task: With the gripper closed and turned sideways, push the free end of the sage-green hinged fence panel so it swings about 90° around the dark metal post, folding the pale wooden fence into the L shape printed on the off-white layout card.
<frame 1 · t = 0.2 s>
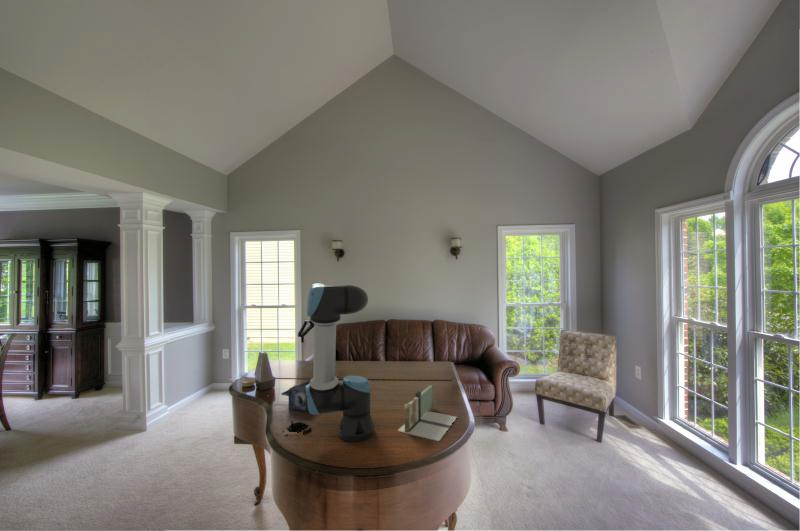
hand: (316, 346, 182), 28 cm above the table, tool tilted 20°, fingers open, 13 cm apart
black jagged lump: (296, 432, 142), on the table
layout card: (428, 424, 147), on the table
small box: (300, 409, 165), on the table
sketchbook: (313, 389, 193), on the table
fixed fence: (418, 420, 150), resting on layout card
hinged panel: (425, 400, 158), point 6 cm above the table, hinge at 0.0°
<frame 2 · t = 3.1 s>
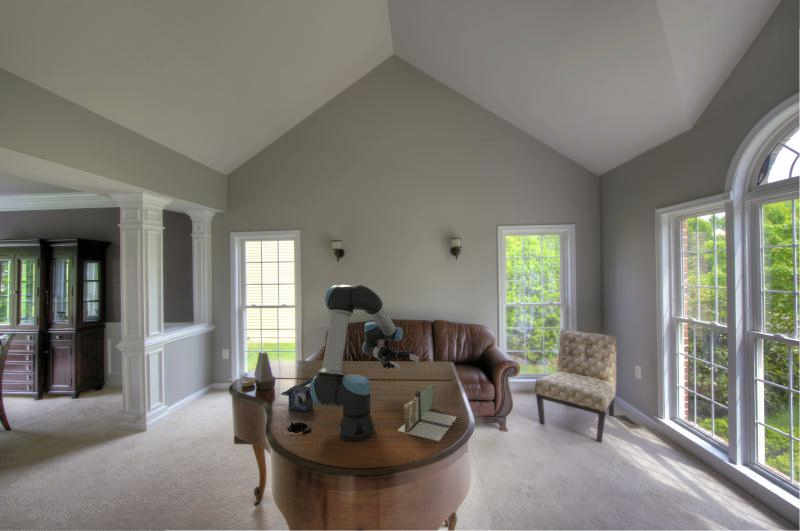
hand: (409, 363, 165), 22 cm above the table, tool horizontal, fingers open, 13 cm apart
nothing on the table moved.
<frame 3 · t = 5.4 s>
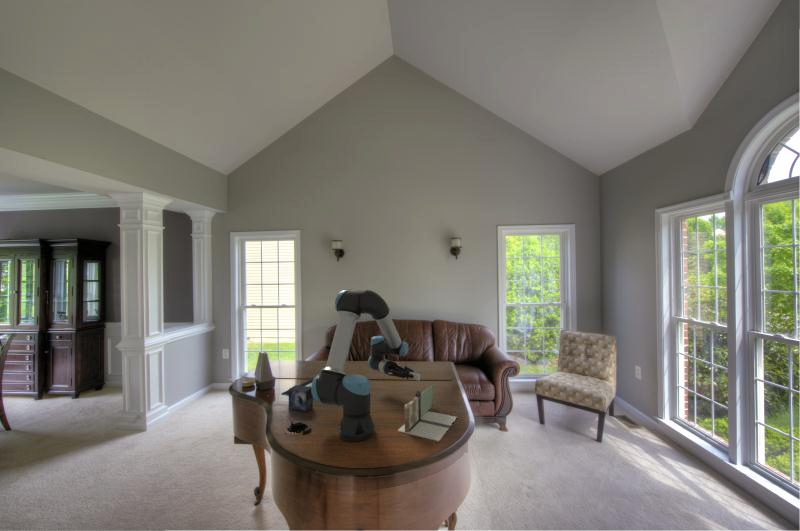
hand: (419, 377, 164), 16 cm above the table, tool horizontal, fingers closed
nothing on the table moved.
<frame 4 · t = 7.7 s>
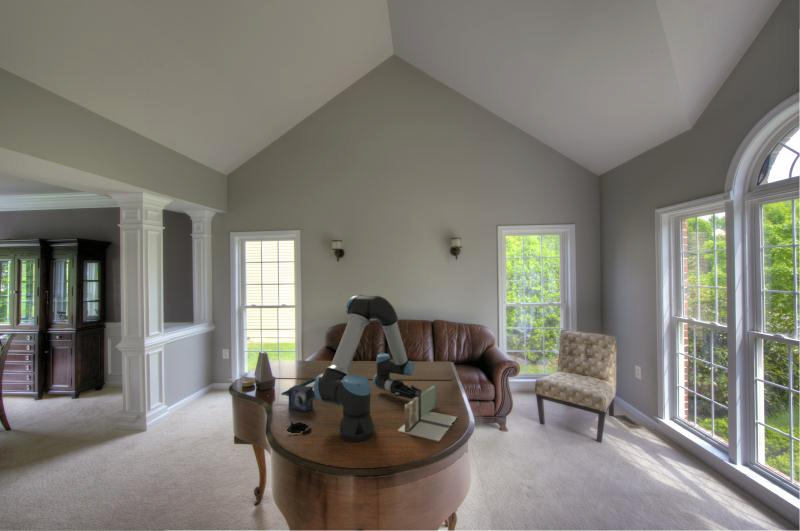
hand: (427, 398, 160), 6 cm above the table, tool horizontal, fingers closed
hinged panel: (427, 400, 158), point 6 cm above the table, hinge at 6.0°, touching gripper
everything else where it was.
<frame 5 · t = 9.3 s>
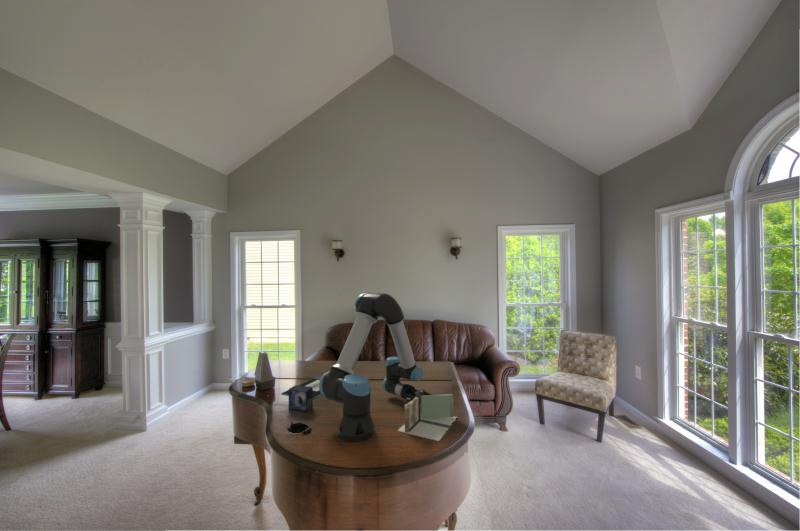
hand: (440, 404, 153), 6 cm above the table, tool horizontal, fingers closed
hinged panel: (437, 406, 151), point 6 cm above the table, hinge at 55.6°, touching gripper
everything else where it was.
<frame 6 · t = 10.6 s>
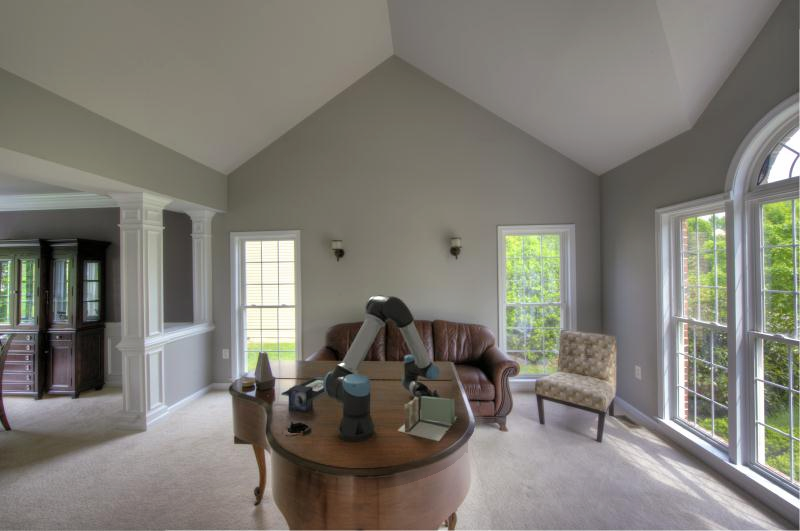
hand: (441, 407, 149), 7 cm above the table, tool horizontal, fingers closed
hinged panel: (437, 409, 148), point 6 cm above the table, hinge at 78.1°, touching gripper
everything else where it was.
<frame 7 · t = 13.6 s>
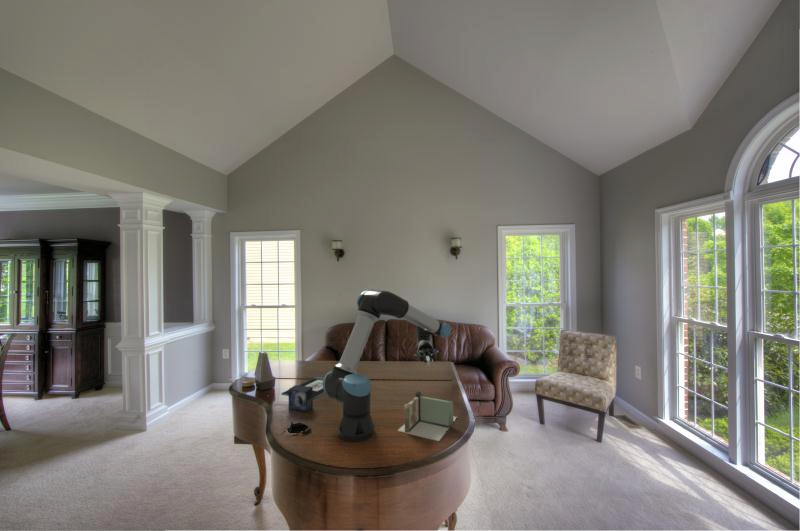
hand: (428, 363, 155), 25 cm above the table, tool horizontal, fingers closed
hinged panel: (436, 410, 146), point 6 cm above the table, hinge at 88.7°
everything else where it was.
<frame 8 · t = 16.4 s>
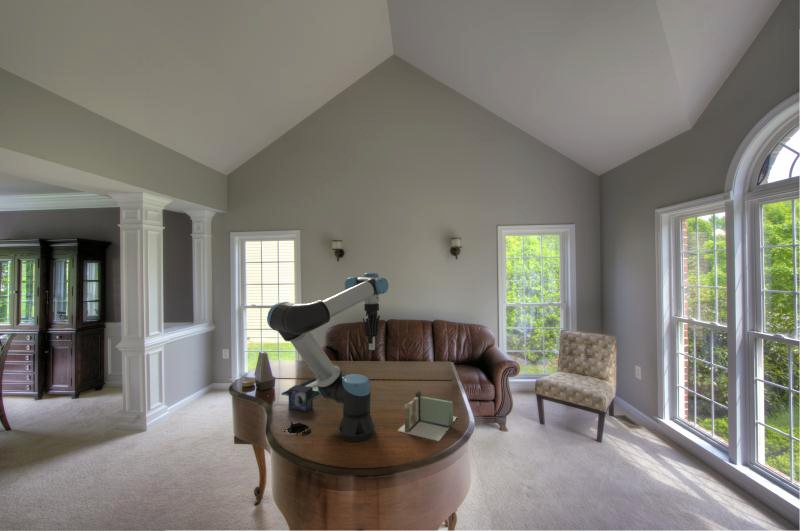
hand: (371, 349, 166), 29 cm above the table, tool pointing down, fingers closed
nothing on the table moved.
at the end: hinged panel at +89° (first picture: +0°); hinged panel touching nothing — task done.
